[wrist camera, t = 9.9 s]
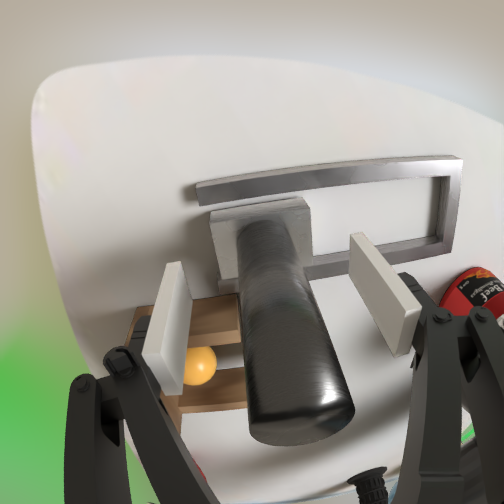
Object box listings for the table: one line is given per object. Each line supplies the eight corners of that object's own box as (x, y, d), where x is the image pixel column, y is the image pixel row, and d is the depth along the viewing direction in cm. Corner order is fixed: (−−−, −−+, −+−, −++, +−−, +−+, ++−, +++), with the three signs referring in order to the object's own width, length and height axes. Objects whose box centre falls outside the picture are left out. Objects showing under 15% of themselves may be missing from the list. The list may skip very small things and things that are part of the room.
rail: (453, 155, 19) (462, 159, 18) (443, 245, 23) (451, 252, 22) (197, 182, 19) (195, 188, 18) (220, 285, 23) (220, 294, 22)
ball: (179, 325, 25) (219, 334, 24) (191, 355, 27) (228, 365, 26) (153, 357, 22) (195, 371, 21) (169, 386, 24) (208, 400, 23)
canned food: (498, 266, 25) (559, 329, 15) (467, 324, 29) (514, 390, 19) (457, 261, 24) (527, 337, 14) (424, 326, 28) (473, 407, 18)
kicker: (302, 197, 20) (404, 366, 7) (310, 346, 26) (349, 489, 14) (211, 211, 20) (191, 405, 7) (244, 357, 26) (257, 506, 14)
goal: (236, 293, 23) (239, 357, 18) (253, 373, 28) (259, 429, 23) (137, 307, 23) (117, 367, 18) (173, 381, 28) (167, 436, 23)
